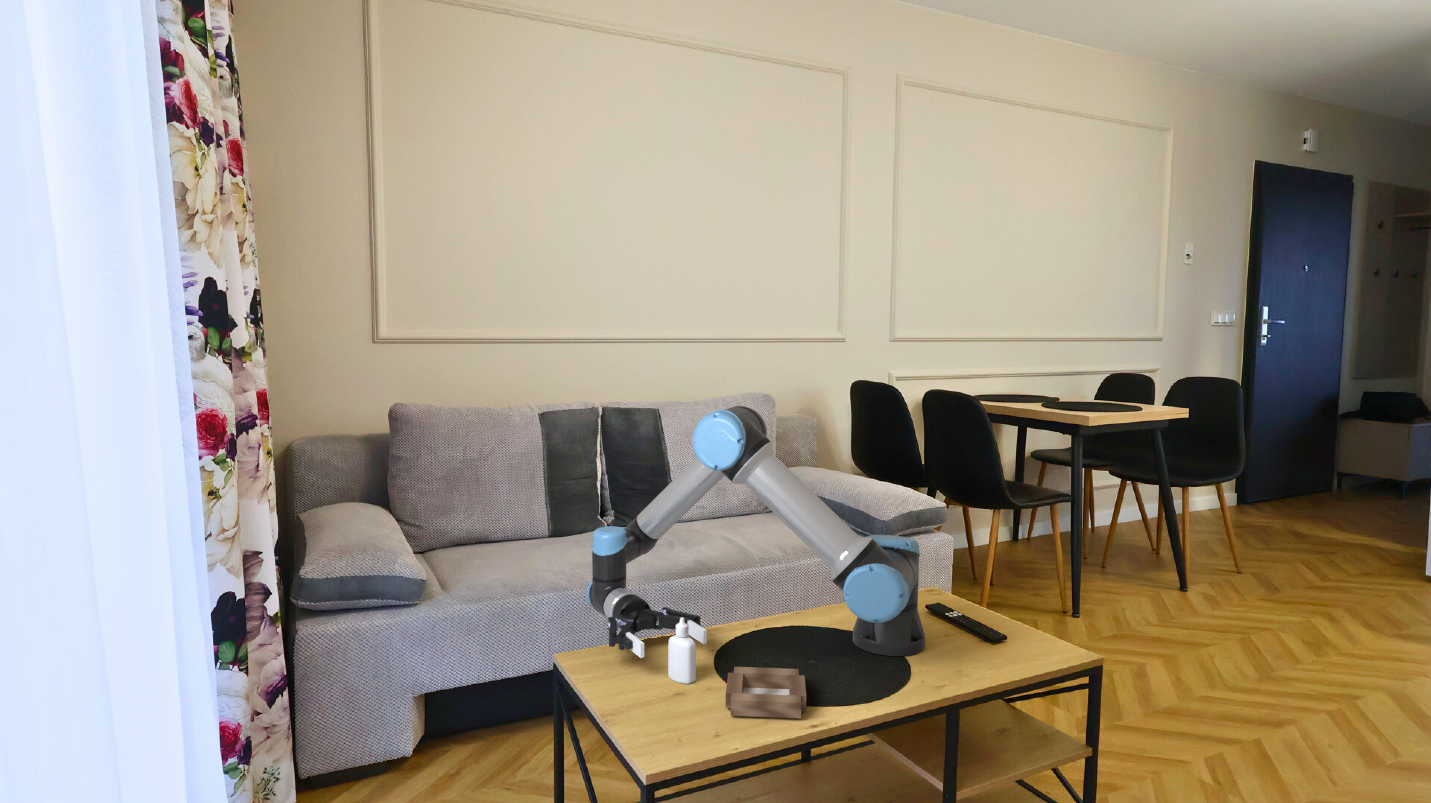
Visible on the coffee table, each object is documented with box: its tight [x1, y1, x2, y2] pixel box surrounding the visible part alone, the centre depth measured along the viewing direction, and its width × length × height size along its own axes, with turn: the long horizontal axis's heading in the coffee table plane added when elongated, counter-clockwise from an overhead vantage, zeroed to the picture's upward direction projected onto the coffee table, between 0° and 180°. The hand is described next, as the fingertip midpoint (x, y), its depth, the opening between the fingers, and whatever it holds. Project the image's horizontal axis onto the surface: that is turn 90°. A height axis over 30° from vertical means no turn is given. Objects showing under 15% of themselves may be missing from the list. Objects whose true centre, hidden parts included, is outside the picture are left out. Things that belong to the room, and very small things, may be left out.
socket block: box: [725, 666, 807, 719], centre depth 147 cm, size 14×14×3 cm
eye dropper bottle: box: [667, 617, 697, 685], centre depth 156 cm, size 4×6×12 cm
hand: (674, 643), depth 158 cm, fingers open, 13 cm apart
